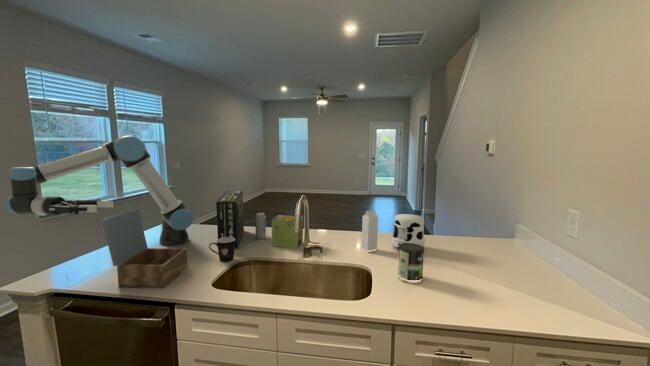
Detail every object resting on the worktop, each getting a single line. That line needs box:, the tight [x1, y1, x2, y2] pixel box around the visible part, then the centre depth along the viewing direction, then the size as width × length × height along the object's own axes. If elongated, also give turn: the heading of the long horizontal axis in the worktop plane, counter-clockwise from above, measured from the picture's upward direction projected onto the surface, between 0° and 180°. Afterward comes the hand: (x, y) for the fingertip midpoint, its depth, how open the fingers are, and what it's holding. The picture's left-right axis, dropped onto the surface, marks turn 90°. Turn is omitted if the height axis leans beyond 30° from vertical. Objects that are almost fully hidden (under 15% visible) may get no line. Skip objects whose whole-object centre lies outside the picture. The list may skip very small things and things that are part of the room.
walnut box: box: [116, 247, 189, 289], centre depth 127 cm, size 18×20×9 cm
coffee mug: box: [208, 237, 235, 263], centre depth 147 cm, size 12×9×10 cm
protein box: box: [271, 214, 304, 249], centre depth 170 cm, size 10×15×16 cm
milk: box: [361, 210, 379, 250], centre depth 161 cm, size 6×6×22 cm
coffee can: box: [397, 243, 425, 280], centre depth 128 cm, size 10×10×14 cm
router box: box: [215, 190, 245, 250], centre depth 177 cm, size 36×11×27 cm, turn 10°
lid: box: [101, 208, 149, 267], centre depth 125 cm, size 18×20×1 cm
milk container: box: [391, 213, 426, 250], centre depth 165 cm, size 17×17×18 cm
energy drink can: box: [254, 212, 267, 240], centre depth 181 cm, size 6×6×15 cm
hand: (104, 206), depth 123 cm, fingers open, 9 cm apart
